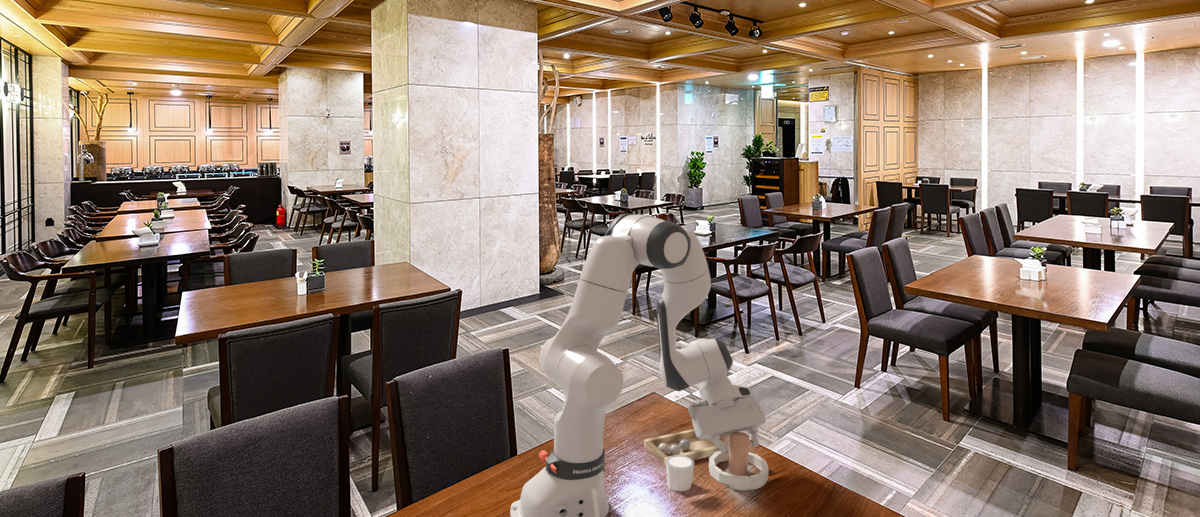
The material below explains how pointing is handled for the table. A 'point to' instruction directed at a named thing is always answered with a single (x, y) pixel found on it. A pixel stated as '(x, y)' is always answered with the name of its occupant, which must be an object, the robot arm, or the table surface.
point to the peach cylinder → (738, 454)
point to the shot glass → (679, 472)
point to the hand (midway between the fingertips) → (740, 449)
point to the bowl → (739, 481)
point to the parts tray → (695, 451)
